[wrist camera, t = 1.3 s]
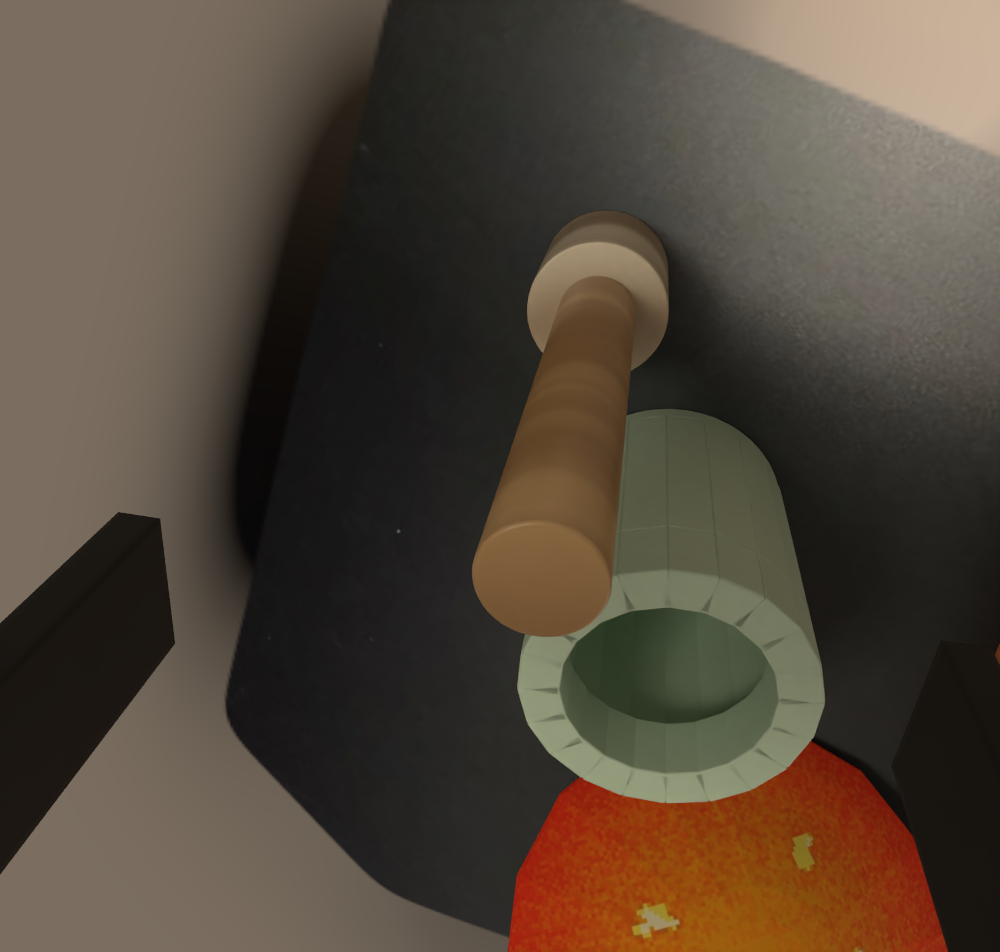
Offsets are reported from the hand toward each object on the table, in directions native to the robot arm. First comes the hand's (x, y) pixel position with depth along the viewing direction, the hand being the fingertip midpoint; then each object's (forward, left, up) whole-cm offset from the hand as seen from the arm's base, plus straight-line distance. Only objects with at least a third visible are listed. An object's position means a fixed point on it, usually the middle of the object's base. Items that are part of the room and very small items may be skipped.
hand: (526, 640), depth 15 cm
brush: (0, 0, -23) cm, 23 cm away
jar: (+10, +4, -23) cm, 25 cm away
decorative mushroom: (+28, +10, -23) cm, 37 cm away
